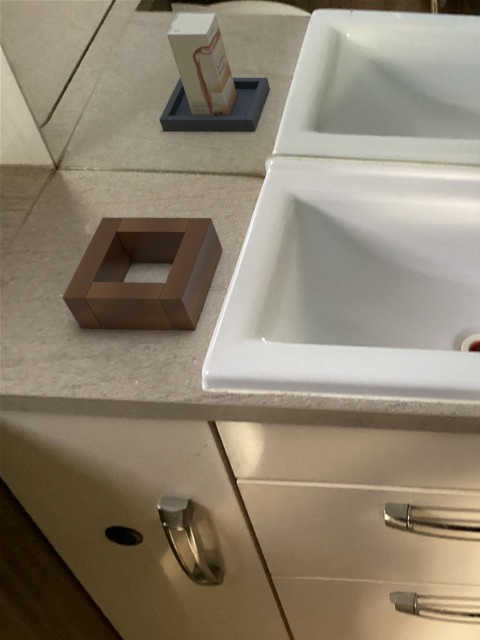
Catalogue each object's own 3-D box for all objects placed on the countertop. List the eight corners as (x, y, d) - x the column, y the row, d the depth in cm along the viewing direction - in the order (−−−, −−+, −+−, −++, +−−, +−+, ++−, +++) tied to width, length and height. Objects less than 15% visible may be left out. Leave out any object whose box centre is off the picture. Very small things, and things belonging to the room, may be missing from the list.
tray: (163, 130, 90) (159, 119, 89) (183, 88, 96) (179, 77, 94) (255, 131, 90) (251, 119, 89) (270, 88, 95) (267, 77, 94)
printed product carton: (230, 118, 91) (205, 35, 83) (192, 118, 91) (164, 35, 83) (239, 92, 94) (216, 10, 86) (202, 93, 94) (176, 10, 86)
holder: (80, 328, 71) (61, 297, 68) (117, 248, 78) (102, 217, 75) (195, 329, 71) (181, 299, 68) (222, 249, 77) (211, 217, 74)
